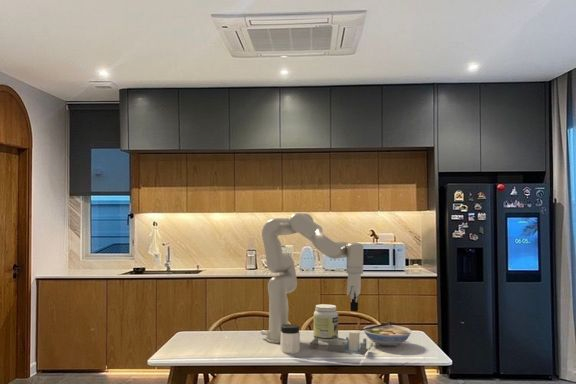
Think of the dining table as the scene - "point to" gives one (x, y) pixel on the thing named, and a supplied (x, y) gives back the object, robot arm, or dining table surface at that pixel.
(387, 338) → the ramen bowl
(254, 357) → the dining table surface
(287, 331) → the jar
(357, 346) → the plug
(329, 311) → the supplement tub
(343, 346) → the grey tiered shelf stand
